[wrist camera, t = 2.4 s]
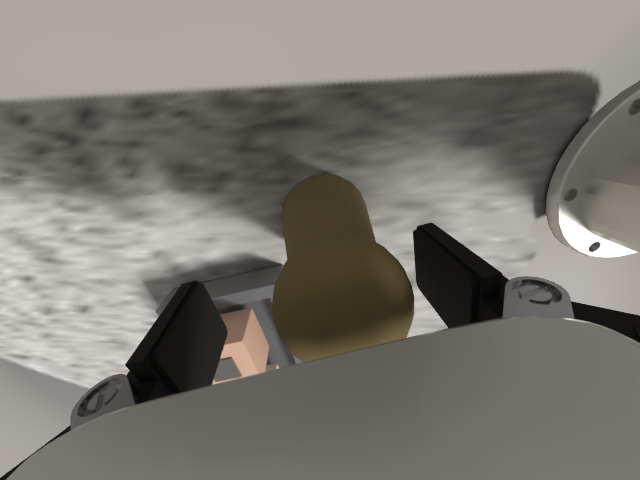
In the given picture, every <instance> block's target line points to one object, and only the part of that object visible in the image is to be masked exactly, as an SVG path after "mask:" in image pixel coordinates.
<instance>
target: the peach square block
mask: <svg viewBox="0 0 640 480" xmlns="http://www.w3.org/2000/svg"><path fill="white" fill-rule="evenodd" d="M220 316H221V318H222V320H223V321H224V323H225V325H226V327H227V331H228V335H227V338H226V342H225V345H224V348H223V351H222V354H221V357H220V361H219V364H218V367H217V370H216V373H215V376H214V380H213V383H212V385H214V384H218V383H222V382H226V381H230V380H234V379H238V378H242V377H246V376H250V375H254V374H258V373H262V372H265V370H266V363H267V357H268V351H269V345H268V342H267V340H266V338H265V336H264V333H263V331H262V329H261V327H260V325H259V322H258V320H257V318H256V316H255V313H254V311H253V309H252V308H248V309H244V310H239V311H234V312H230V313H225V314H221V315H220Z"/></svg>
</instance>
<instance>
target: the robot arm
mask: <svg viewBox="0 0 640 480" xmlns="http://www.w3.org/2000/svg"><path fill="white" fill-rule="evenodd" d="M546 216H547V220H548V225H549V227H550V229H551V231H552V233H553V235H554V236H555V237H556V238H557V239H558V240H559V241H560V242H561V243H562V244H564V245H565V246H567V247H569V248H571V249H573V250H575V251H577V252H579V253H581V254H584V255H586V256H592V257H599V258H607V257H619V256H623V255H628V254H633V253H636V252H639V253H640V81H639V82H637V83H636V84H634V85H632V86H631V87H629V88H627V89H626V90H624V91H623V92H621V93H620V94H619V95H617V96H616V97H615V98H614V99H612V100H611V101H610V102H608V103H607V104H606V105H605V106H603V107H602V108H601V109H600V110H599V111H598V112H597V113H596V114H595V115H594V116H593V117H592V118H591V119H590V120H589V121H588V122H587V123H586V124H585V125H584V126H583V127H582V128H581V130H580V131H579V132H578V134H577V135H576V136H575V138H574V139H573V140H572V141H571V143H570V144H569V145H568V147H567V149H566V150H565V152H564V154H563V155H562V157H561V159H560V160H559V162H558V164H557V166H556V169H555V171H554V174H553V176H552V178H551V181H550V185H549V189H548V193H547V198H546ZM413 239H414V254H415V270H416V282H417V286H418V288H419V289H420V291H421V292H422V293H423V295H424V296H425V297H426V299H427V300H428V301H429V303H430V304H431V305H432V307H433V308H434V309H435V311H436V312H437V313H438V315H439V316H440V317H441V319H442V320H443V321H444V323H445V324H446V325H447V327H448V328H447V329H443V330H439V331H434V332H430V333H426V334H422V335H417V336H413V337H409V338H404V339H400V340H396V341H392V342H387V343H383V344H379V345H375V346H370V347H366V348H362V349H358V350H353V351H349V352H345V353H341V354H337V355H332V356H328V357H324V358H320V359H316V360H312V361H307V362H303V363H299V364H295V365H291V366H287V367H283V368H279V369H274V370H270V371H266V372H262V373H258V374H254V375H250V376H246V377H242V378H238V379H234V380H230V381H226V382H222V383H218V384H214V385H212V383H213V380H214V376H215V373H216V370H217V367H218V364H219V361H220V357H221V354H222V351H223V348H224V345H225V342H226V338H227V335H228V331H227V327H226V325H225V323H224V321H223V320H222V318H221V316H220V314H219V312H218V310H217V308H216V306H215V305H214V303H213V301H212V299H211V297H210V295H209V293H208V292H207V290H206V288H205V286H204V284H203V283H199V282H198V281H192V282H188V283H184V284H182V285H181V286H180V287H179V289H178V290H177V291H176V293H175V294H174V296H173V297H172V299H171V300H170V302H169V303H168V304H167V306H166V307H165V309H164V310H163V312H162V313H161V314H160V316H159V317H158V319H157V320H156V322H155V323H154V324H153V326H152V327H151V329H150V330H149V332H148V333H147V334H146V336H145V337H144V339H143V340H142V342H141V343H140V344H139V346H138V347H137V349H136V350H135V352H134V353H133V354H132V356H131V357H130V359H129V360H128V362H127V363H126V364H125V365H126V367H127V368H128V369H129V370H130V371H129V372H128V374H127V375H124V374H117V375H113V376H111V377H108V378H106V379H104V380H103V381H101V382H99V383H98V384H96V385H95V386H94V387H92V388H91V389H90V390H89V391H88V392H87V393H86V394H85V395H83V396H82V398H81V399H80V400H79V401H78V402H77V404H76V405H75V407H74V409H73V410H72V413H71V425H70V426H69V427H68V428H66V429H65V430H64V431H63V432H61V433H60V434H58V435H57V436H56V437H54V438H53V439H52V440H50V441H49V442H48V443H46V444H45V445H44V446H42V447H41V448H40V449H38V450H37V451H36V452H34V453H33V454H32V455H30V456H29V457H28V458H26V459H25V460H24V461H22V462H21V463H20V464H19V465H17V466H16V467H14V468H13V469H12V470H11V471H9V472H8V473H6V474H5V475H4V476H2V477H1V478H0V480H640V316H638V315H634V314H629V313H624V312H620V311H615V310H610V309H605V308H600V307H595V306H591V305H586V304H581V303H576V302H571V300H570V296H569V294H568V292H567V291H566V290H565V289H564V288H562V287H561V286H560V285H558V284H556V283H554V282H552V281H549V280H546V279H542V278H538V277H527V276H524V277H516V278H513V279H511V280H508V279H507V278H506V277H504V276H503V275H502V273H501V272H500V271H498V270H497V269H495V268H494V267H493V266H491V265H490V264H488V263H487V262H486V261H484V260H483V259H482V258H480V257H479V256H477V255H476V254H475V253H473V252H472V251H471V250H469V249H468V248H466V247H465V246H464V245H462V244H461V243H459V242H458V241H457V240H455V239H454V238H453V237H451V236H450V235H448V234H447V233H446V232H444V231H443V230H442V229H440V228H439V227H437V226H436V225H435V224H433V223H428V224H424V225H420V226H418V227H417V230H414V231H413Z"/></svg>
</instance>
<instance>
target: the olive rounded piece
mask: <svg viewBox="0 0 640 480" xmlns="http://www.w3.org/2000/svg"><path fill="white" fill-rule="evenodd" d="M282 221H283V229H284V237H285V244H286V252H287V261H286V263H285V264H284V266H283V268H282V270H281V272H280V274H279V276H278V278H277V280H276V282H275V286H274V291H273V301H272V314H273V319H274V323H275V326H276V329H277V332H278V335H279V337H280V338H281V340H282V341H283V342H284V344H285V345H286V346H287V348H288V349H289V350H290V351H291V352H292V353H293V355H294V356H295V357H296V358H298V359H300V360H301V361H303V362H307V361H312V360H316V359H320V358H324V357H328V356H332V355H337V354H341V353H345V352H349V351H353V350H358V349H362V348H366V347H370V346H375V345H379V344H383V343H387V342H392V341H396V340H400V339H404V338H406V336H407V334H408V331H409V329H410V326H411V324H412V320H413V316H414V294H413V290H412V286H411V283H410V281H409V279H408V277H407V274H406V272H405V270H404V268H403V267H402V265H401V264H400V262H399V261H398V260H397V259H396V258H395V257H394V256H393V255H392V254H391V253H390V252H389V251H388V250H387V249H386V248H385V247H383V246H381V245H380V244H378V243H376V241H375V237H374V233H373V230H372V226H371V223H370V219H369V215H368V212H367V208H366V205H365V202H364V200H363V198H362V195H361V193H360V192H359V190H358V189H357V188H356V187H355V186H354V185H353V184H352V183H351V182H349V181H347V180H345V179H343V178H341V177H339V176H333V175H326V174H323V175H318V176H312V177H309V178H307V179H306V180H304V181H302V182H300V183H298V184H297V185H296V186H295V187H294V188H293V190H292V191H291V192H290V193H289V194H288V196H287V198H286V201H285V203H284V205H283V214H282Z"/></svg>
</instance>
